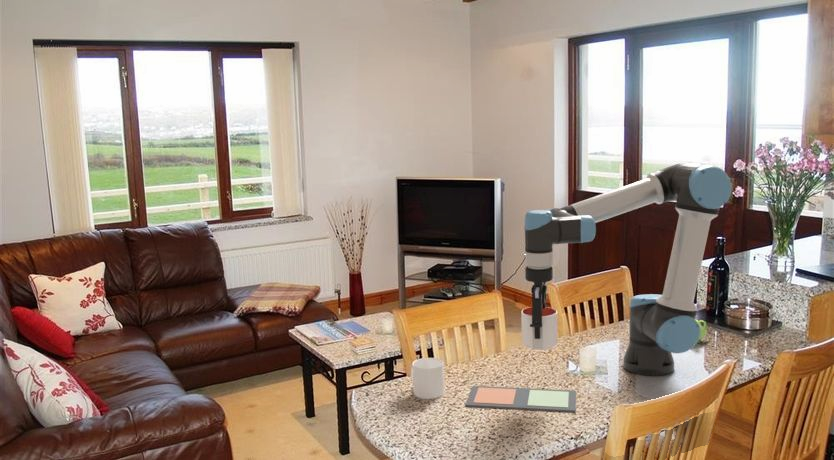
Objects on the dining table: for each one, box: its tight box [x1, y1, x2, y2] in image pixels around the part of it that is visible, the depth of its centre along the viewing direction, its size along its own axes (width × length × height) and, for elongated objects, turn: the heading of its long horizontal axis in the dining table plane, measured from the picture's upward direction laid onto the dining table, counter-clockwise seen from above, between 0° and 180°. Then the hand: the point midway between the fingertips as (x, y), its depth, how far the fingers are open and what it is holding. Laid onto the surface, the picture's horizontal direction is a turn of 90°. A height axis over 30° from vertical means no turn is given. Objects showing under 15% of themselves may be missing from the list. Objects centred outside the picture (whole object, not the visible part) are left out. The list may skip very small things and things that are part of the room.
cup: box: [520, 306, 559, 351], centre depth 206 cm, size 10×10×10 cm
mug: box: [410, 357, 445, 400], centre depth 214 cm, size 12×9×9 cm
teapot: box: [695, 319, 708, 344], centre depth 251 cm, size 11×12×8 cm
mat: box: [465, 385, 577, 413], centre depth 207 cm, size 30×14×1 cm, turn 77°
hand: (539, 342), depth 207 cm, fingers closed on cup, 10 cm apart
